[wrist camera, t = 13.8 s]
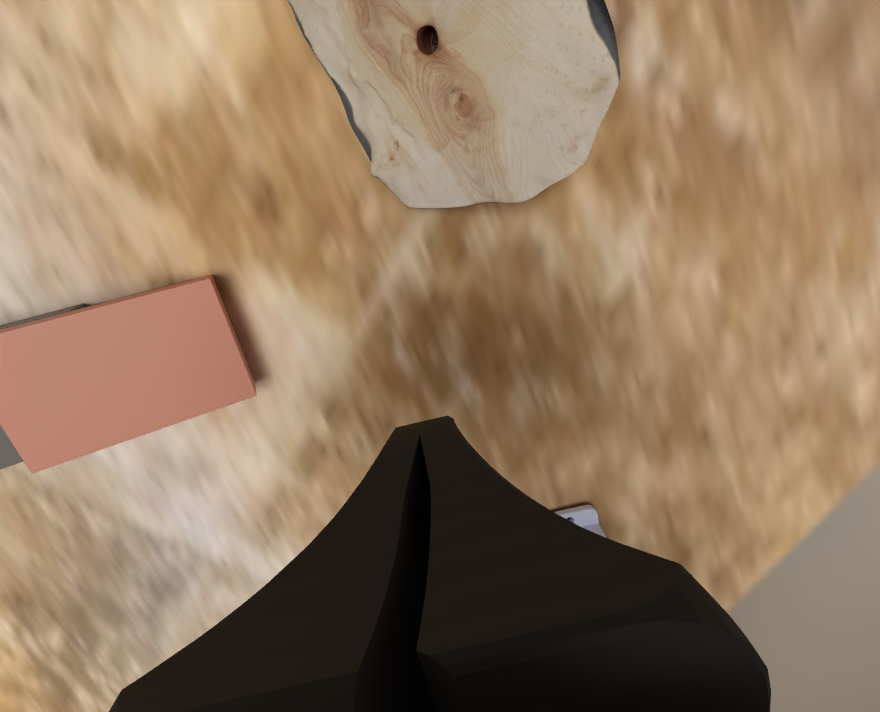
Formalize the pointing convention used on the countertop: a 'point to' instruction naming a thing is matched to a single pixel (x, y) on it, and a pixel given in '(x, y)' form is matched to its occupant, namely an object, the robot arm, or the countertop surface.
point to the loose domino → (118, 371)
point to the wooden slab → (468, 90)
